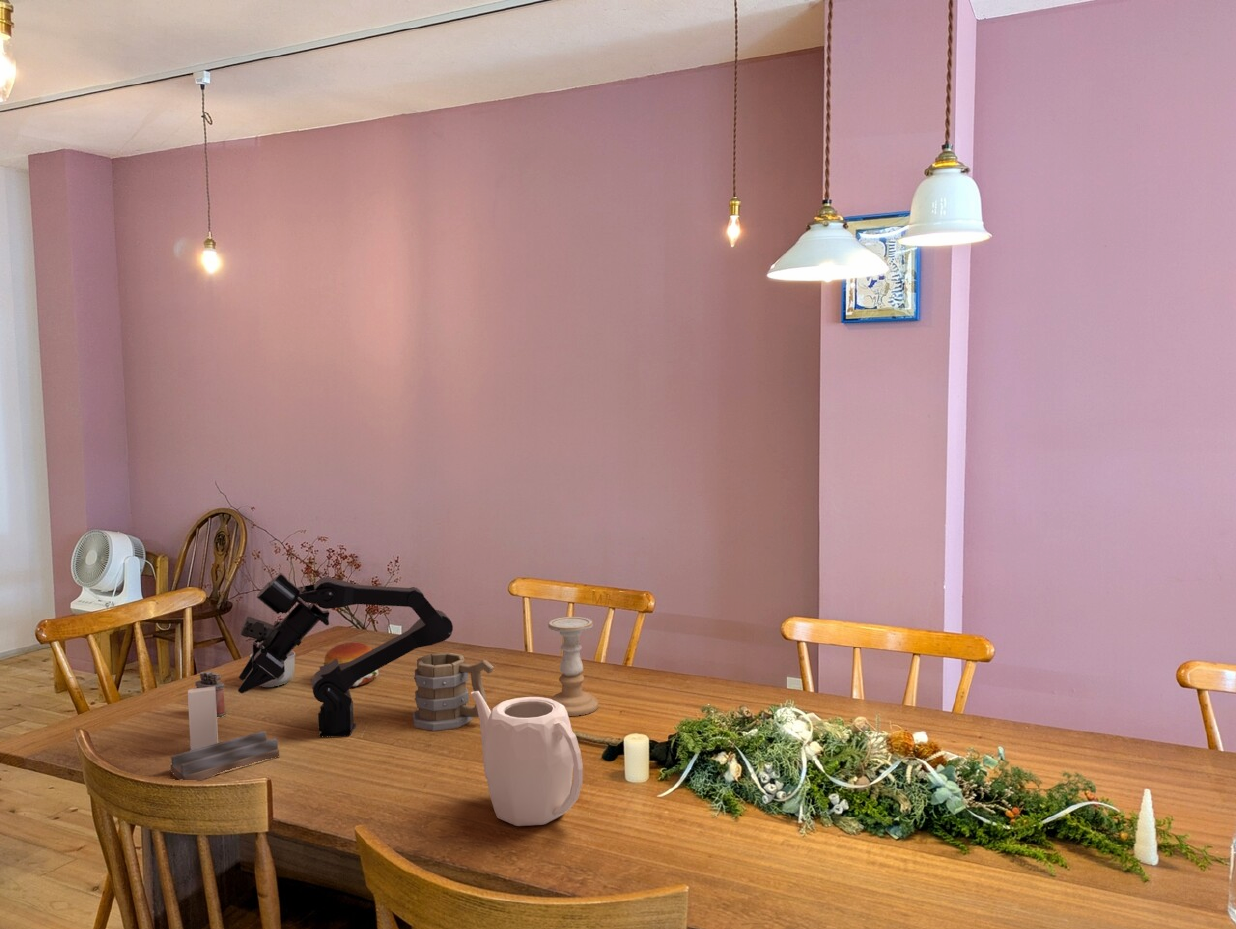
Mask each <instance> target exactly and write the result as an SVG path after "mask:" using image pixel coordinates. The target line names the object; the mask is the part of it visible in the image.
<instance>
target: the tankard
mask: <svg viewBox="0 0 1236 929" xmlns="http://www.w3.org/2000/svg"><path fill="white" fill-rule="evenodd" d="M416 666H417V668H415V670H414V677H413V679H414V681H415V684H416V687H417V690H415V692H414V693H415V695H414V696H415V697H414V701H415V704H416V708H417V710H415V711H413V712H412V719H413V721H412V722H413V724H414V728H416V727H417V728H416V729H422V730H427V731H432V732H439V731H446V730H455V729H458V728H460V727H463V726H465V725H466V724H468V723H470V722H471V721H473V718H479V715H478V711H477V706H476V704H475V705H474V707H473V706H470V705H467V703H469V702H470V700H469V698H470V697H469V695H470V694H469V690H468V688H467V686H466V685H467V684H466V682H468V681H469V674H470V680H471V681H470V682H471V687H472V689H473V692H474V691H479V692H480V694H481V696H482V697H483V699H484V701H485V702H486V703H487V695H486V691H485V689H484V685H483V682H482V671H484V672H485V673H487V674H492V672H493V670H494V669H495V667H494V666H493V665H492V664H491V663H490V662H489V661H488V660H486V659H483V660H482V661H480V662H477V663H475V664H467V663H466V660H465V657H464V656H463V655H462V654H459V653H453V652H439V653H430V654H426V655H424V656H422V657H419V658H417V660H416Z"/></svg>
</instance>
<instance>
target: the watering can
mask: <svg viewBox="0 0 1236 929" xmlns="http://www.w3.org/2000/svg"><path fill="white" fill-rule="evenodd" d="M470 694H471V696H472V698H473V699H474V702H475V705H476V706H477V711H478V715H479V717H478V718H479V728H480V737H481V738H480V740H481V749H482V759H483V769H484V778H485V779H486V781H487V788H488V794H489V797H490V801H491V803H492V807H493V810H494V813H495V815H496V818H498V820H499V819H500V820H501V821H504V822H506V823H508V824H510V825H513V826H516V827H526V826H542V825H547V824H548V823H550V822H552V821H554V820H556V819H558V818H559V817H562V816H563V815H564V814H565V813H566V812H568V811H569V810H570V809H571V808H572V807H573V806H574V805H575V803H576V802H577V801H578V800H579V797H580V793H581V789H582V787H583V782H584V781H583V779H584V767H583V766H584V765H583V760H582V753H581V752H582V751H581V749H580V747H579V746H580V745H579V741H578V738H577V736H576V734H575V733H574V732H573V730H572V725H571V721H570V716H568V713H567V711H566V709H565V707H564V705H562V704H560V703H558V702H556V701H554V700H552V699H550V698H547V697H542V696H525V697H515V698H512V699H507V700H503V701H501V702H500V703H498V704H497V705H495V706H494V707H492V709H490V707H489V705H488V704H487V701H486V702H485V701H484V699H483V697H482V696H481V694H480V692H479V691H474V690H473V691H471V692H470Z"/></svg>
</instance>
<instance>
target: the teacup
mask: <svg viewBox="0 0 1236 929" xmlns="http://www.w3.org/2000/svg"><path fill="white" fill-rule="evenodd" d="M252 654H253V653H251V654H250V655H249V659H250V658H251V656H252ZM287 656H288V658H287V659H286V660H285V661H284V666H285V672H284V673H283V674H282V675H281V676H280V677H279V678H276V679H275V680H271V681H268V682H266V683H264V684H262V685H259V687H261V686H262V687H263V688H275V687H274V686H278V687H280V686H279V685H282V684H284V685H286V684H287V683H289V681H291V680H292V678H293V677H294V674H295V668H296V667H295V666H296V665H295V664H296V652H295V651H294V650H291V652H290V653H289V654H288V655H287ZM285 683H286V684H285ZM282 686H283V685H282Z"/></svg>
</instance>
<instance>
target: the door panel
mask: <svg viewBox="0 0 1236 929" xmlns="http://www.w3.org/2000/svg"><path fill="white" fill-rule="evenodd" d="M187 702H188V704H187V705H188V722H189V724H188V725H189V739H190V740H189V742H190V751H191V750H194V749H198V748H202V747H206V746H209V745H213V744H217V743H219V736H218V735H219V734H218V732H219V731H218V730H219V729H218V719H217V709H216V688H215V686H214V687H205V688H197V687H196V688H189V689H188V691H187Z"/></svg>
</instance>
